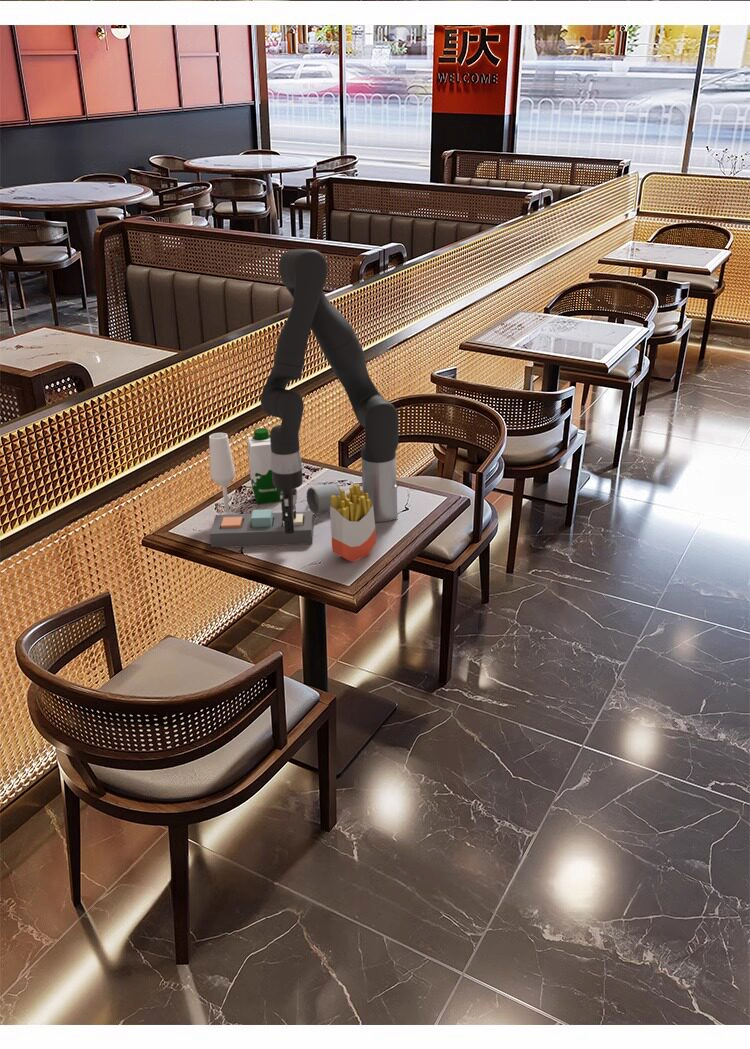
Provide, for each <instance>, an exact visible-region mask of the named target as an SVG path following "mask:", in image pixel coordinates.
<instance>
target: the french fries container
mask: <svg viewBox="0 0 750 1049" xmlns="http://www.w3.org/2000/svg"><path fill="white" fill-rule="evenodd" d="M348 489H349V491H348V492H347V493H346V492H345V489H340V491H341V496H340V495H339V496H337V497H336V496H335V495H332V496H330V497H331V506H330V511H329V512H330V513H329V514H330V532H331V533H330V534H331V536H330V537H331V550H332V553H333V554H336V555H337V556H339V557H341V558H343V559H345V560H347V561H349V562H350V563H354V562H355V561H358V560H360V559H362V558H365V557H366V556H368V555H369V554H370V553H371V551H372V549H373V547H374V546H375V545H376V541H377V538H376V536H377V535H376V522H375V520H374V510H373V503H372V501H371V499H370V497H369V493H364V491H363V490H361V484H359V483H354V484H352V486H350V487H349V488H348Z"/></svg>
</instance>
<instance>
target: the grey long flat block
mask: <svg viewBox="0 0 750 1049" xmlns="http://www.w3.org/2000/svg"><path fill="white" fill-rule="evenodd" d="M272 513H273V525H272V527H254V528H252V522H251V517H252V513H237V514H229V515H220V514H215V516H214V520H213V523H212V527H211V529H210V530H209V531H210V532H209V539H210V545H211V546H210V547H216V548H235V547H236V548H237V547H261V546H263V547H265V546H266V547H267V546H268V547H269V546H291V545H313V541H314V531H315V529H314V528H315V519H314V514H313V511H311V510H308V511H296V514H303V521H304V526H294V533H292V534H286V533H285V526H283V520H282V518H283V517H282V512H272ZM286 514H287V513H286ZM223 517H242V518H243V525H242V528H228V529H221V523H222V520H223ZM313 530H314V531H313Z"/></svg>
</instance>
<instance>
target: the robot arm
mask: <svg viewBox="0 0 750 1049" xmlns="http://www.w3.org/2000/svg"><path fill="white" fill-rule="evenodd" d="M328 267H329V266H328V262H327V259H326V257H325V256H324V255H323V253H321V252H320V251H318V250H316V249H306V248H305V249H304V248H303V249H301V248H300V249H299V248H297V249H296V248H295V249H290V250H287V251H285V252H284V253H283V254H282V255H281V257H280V259H279V261H278V274H279V276H280V279H281V281H282V283H283V285H284V287H285V288H286V290H287V291H288V292H289V294H290V295H291V296H292V298H293V301H292V304H291V309H290V312H289V314H288V317H287V318H286V321H285V323H284V325H283V327H282V328H281V331H280V334H279V336H278V339H277V343H276V348H275V353H274V357H273V364H272V365H273V366H272V368H271V372H270V374H269V375H268V378H267V379H266V382H265V384H264V387H263V389H262V392H261V395H260V405H261V410H262V411H263V412H264V413H265V414H266V415H268V416H270V417H275V418H279V419H281V423H280V424H278V425H275V426H273V427H272V428H271V429H270V431H269V434H270V443H271V468H272V481H273V485H274V487H276V488H278V489H281V493H280V499H281V502H280V509H281V513H282V517H283V518H282V520H283V521H284V524H285V533H286V534H292V533H294V523H293V519H295V518H296V512H297V511H296V510H297V508H296V505H297V500H298V499H297V498H298V490H297V488H299V487H301V486H302V485H303V466H302V456H301V450H300V437H299V436H300V435H299V433H300V430H301V423H302V420H303V414H304V410H305V408H304V400H303V398H302V397H301V395H300V393H299V392H297V391H296V390H290V389H287V388H286V387H287V386H288V384H289V382H291V381H296V380H299V379H300V378H302V374H303V370H304V364H305V358H306V353H307V352H306V351H307V346H308V341H309V337H310V333H311V332H312V334H313V335H314V337H315V339H316V341H317V343H318V345H319V348H320V349H321V351H322V353H323V356H324V357H325V359H326V360H327V362H328V365H329V366H330V367H331V369H332V372H333V373H334V375H335V376H336V378H337V379H338V381H339V382H340V384H341V385H342V387H343V388H344V390H345V392H346V395H347V397H348V400H349V403H350V404H351V407H352V410H353V413H354V415H355V417H356V420H357V421H358V423H359V424H360V426H361V427H362V428H364V431H365V432H364V434H365V437H364V438H365V440H364V444H363V445H362V446H361V448H360V460H361V463H360V464H361V484H362V485H361V487H362V490H363V491H364V493H369V497H370V499H371V501H372V503H373V510H374V520H375V523H382V522H384V523H385V522H389V521H392V520H396V519H398V485H397V452H396V451H397V450H398V446H399V434H400V433H399V431H400V430H399V426H400V425H399V422H400V421H399V413H398V411H397V408H396V407H395V405H393V404H392V403H391V402H390V401H388V400H387V399H385V398H384V397H383V396H382V395H381V393H380V392H379V391H378V389H377V387H376V386H375V384H374V382H373V380H372V378H371V377H370V375H369V372H368V366H367V361H366V356H365V353H364V350H363V349H364V348H363V347H362V345H361V342H360V340H359V338H358V336H357V334H356V332H355V330H354V328H353V327H352V325H351V324H350V323H349V321H348V320H347V319H346V318H345V316H344V315H343V314H342V313H341V312H340V311H339V310H338V309H337V308H336V307H335V306H334V305H333V303H331V301H330V300H329V299H328V297H327V296H326V295H325V293H324V288H325V284H326V281H327V278H328V277H327V276H328V272H329V268H328ZM286 513H287V516H286Z"/></svg>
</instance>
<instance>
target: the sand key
mask: <svg viewBox="0 0 750 1049" xmlns="http://www.w3.org/2000/svg"><path fill="white" fill-rule="evenodd" d="M286 516H287V514H286ZM293 523H294V526H304V521H303V514H296V518H295V519H293ZM283 526H285V524H284V521H283Z"/></svg>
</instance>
